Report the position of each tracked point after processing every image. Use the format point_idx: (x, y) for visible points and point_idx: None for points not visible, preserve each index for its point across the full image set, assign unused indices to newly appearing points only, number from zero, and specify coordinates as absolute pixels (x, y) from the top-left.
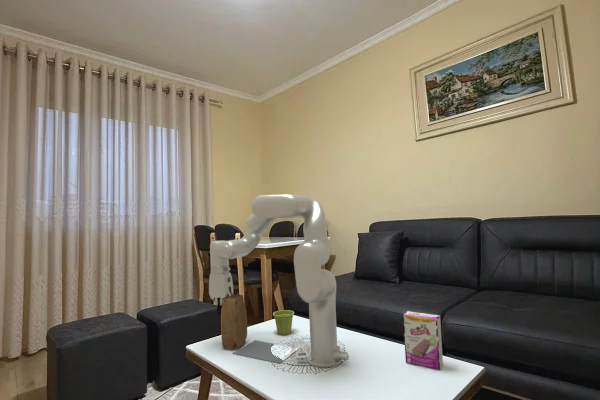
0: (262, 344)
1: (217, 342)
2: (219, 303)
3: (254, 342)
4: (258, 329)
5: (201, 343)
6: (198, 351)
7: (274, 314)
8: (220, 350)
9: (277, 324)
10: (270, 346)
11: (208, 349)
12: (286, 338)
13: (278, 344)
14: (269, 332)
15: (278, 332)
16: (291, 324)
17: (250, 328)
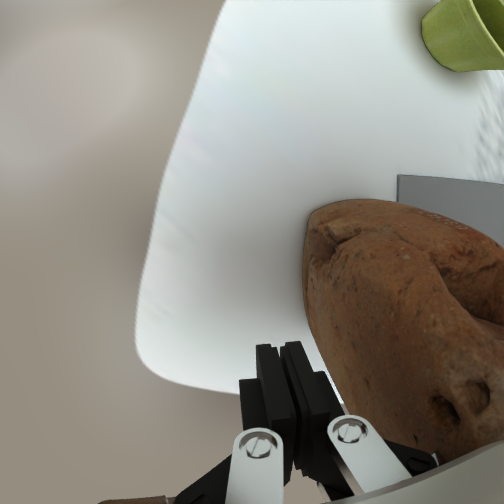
0: (451, 209)
1: (218, 279)
2: (289, 476)
3: (413, 202)
4: (302, 16)
5: (150, 324)
6: (222, 386)
7: (472, 13)
8: (311, 339)
9: (474, 62)
10: (481, 214)
11: (247, 357)
12: (484, 105)
13: (489, 175)
14: (389, 44)
15: (447, 65)
16: (494, 36)
17: (242, 16)
